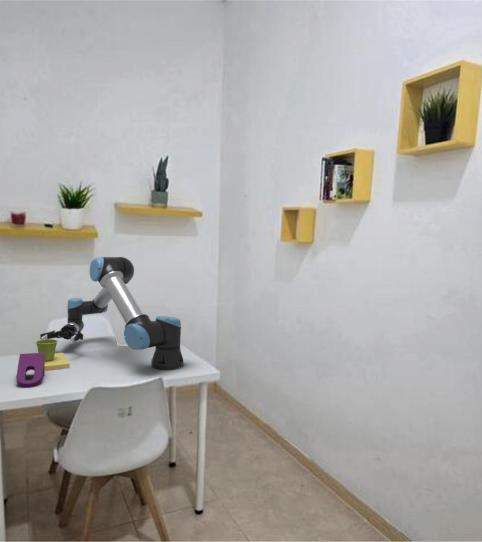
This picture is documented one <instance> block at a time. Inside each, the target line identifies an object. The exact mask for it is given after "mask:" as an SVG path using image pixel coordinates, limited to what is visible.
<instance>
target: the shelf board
mask: <svg viewBox="0 0 482 542" xmlns="http://www.w3.org/2000/svg"><path fill="white" fill-rule="evenodd" d="M70 364H71V363H70V362H69V360H68V359H67V357H66V356H65V354H64V352H57V353H56V352H55V355H54V359H53V360H51V361H50V360H48V361H45V370H44V372H46V371H54V370H64V368H65V369H70V367H71V365H70Z"/></svg>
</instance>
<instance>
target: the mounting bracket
mask: <svg viewBox="0 0 482 542" xmlns="http://www.w3.org/2000/svg"><path fill="white" fill-rule="evenodd" d="M18 356H19V357H18V365H17V370H16V377H15V380H16V383H17V385H18V386H20V387H22V388H32V387H37V386H38V385H39V384H41V383H42V381H43V377H44V376H45V371H44V370H45V356H44V353H38V352H32V353H31V352H30V353H28V352H27V353H19V355H18ZM28 371H33V372H34V373H33V378H32V379H31V380H27V379H26V378H27V372H28Z"/></svg>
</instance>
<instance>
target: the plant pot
mask: <svg viewBox="0 0 482 542" xmlns="http://www.w3.org/2000/svg"><path fill="white" fill-rule="evenodd" d="M58 340H59V339H58ZM58 340H57V339H55V338H52V339H45V340H41V339H40V340H36V341H35V342H34V343H35V344H36V347H37V353H44V356H45V361H48V360H50V361H51V360H53V359H54V355H55V354H56V349H57V345H58V342H59V341H58Z"/></svg>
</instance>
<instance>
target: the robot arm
mask: <svg viewBox="0 0 482 542" xmlns="http://www.w3.org/2000/svg"><path fill="white" fill-rule="evenodd" d="M88 272H89V276H90V279H91V281H93V282H98V283H99V285H100V286H101V287H102V289H101V290H100V291H99V292H98V293H97V295H96V296H95V297H94V298H93V299H92V300H86V301H85V300H84V301H83V299H82V298H79V297H76V298H73V297H72V298H69V299H68V300H67V323H66V324H64V326H62V328H60V330H57V331H56V330H52V331H48V332H44V333H41V334H40V337H39V338H40V340H45V339H63V340H67V341H68V340H70V344H74V343H75V342H76V341H79V340H80V341H83V340H84V334H83V333H82V331H83V329H84V327H85V324H84V321H83V316H85V315H95V314H103V313H104V314H105V313H106V312H107V311H108V308H109V303H110V301H111V300H112V302H113V303H114V305H115V307H116V309H117V310H118V312H119V313H120V316H121V317H122V319H123V320H124V322H125V325H124V331H123V336H124V341H125V343H126V345H127V346H128V347H129V348H131V350H136V351H138V350H142V351H143V350H146V349H149V348H154V347H155V350H154V351H153V355H152V358H151V360H150V361H151V364H150V365H151V367H152V368H154V369H157V370H163V371H164V370H167V371H168V370H177V369H180V368H182V367H183V366H184V357H183V354H182V351H181V337H182V336H181V334H182V326H181V325H182V323H181V319H180V318H177V317H173V316H166V315H165V316H164V315H157V316H156V317H155V320H152V319H150V317H149V315H148V314H146V313H143V312H142V310H141V308H140V307H139V305H138V304H137V302H136V300H135V299H134V297H133V295H132V293H131V291H130V290H129V288H128V286H127V284H128V283H130V281H131V280H132V279H133V277H134V275H135V267H134V264H133V263H132V261H131V260H130V259H128V258H126V257H125V256H118V257H117V256H100V257H94V258H93V259H92V260H91V262H90V264H89V270H88ZM181 366H182V367H181ZM179 367H180V368H179ZM176 368H177V369H176Z"/></svg>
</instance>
